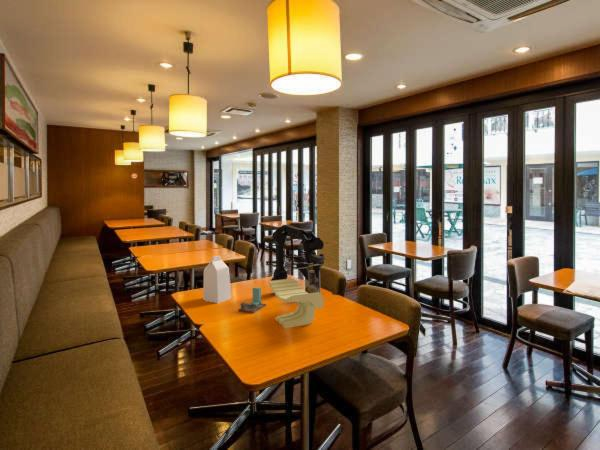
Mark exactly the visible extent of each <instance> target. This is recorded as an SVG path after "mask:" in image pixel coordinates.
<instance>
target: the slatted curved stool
mask: <svg viewBox="0 0 600 450" xmlns="http://www.w3.org/2000/svg"><path fill="white" fill-rule="evenodd" d="M269 287H270V288H271V290H272V291H273V292H272V293H275V295H274V296H275V297H276V298H278V299H279V300H280V301H281V302H282V303H285V304H286V303H296V304H297V308H296V310H295V311H291V312H290V313H286V314H282V315H278V316H275V320H276V321H277V322H278V321H279V322H278V323H279V324H280V325H281V326H282V327H284V328H285V329H289V328H294V327H300V326H306V325H307V326H308V325H310V324H312V323H313V322H314V320H315V310H316V309H320V308H321V309H322V308H324V296H323V293H321V292H320V293H319V292H316V293H307V292H306V291H305V289H303V287H302V286H301V284H300V283H299V281H298V280H297V279H295V278H287V279H283V280H274V281H271V280H269Z"/></svg>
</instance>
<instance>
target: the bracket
mask: <svg viewBox="0 0 600 450" xmlns="http://www.w3.org/2000/svg"><path fill="white" fill-rule="evenodd" d="M249 303H250V302H249ZM249 303H247V302H241V303H240V308H239V309H238V312H242V313H249V314H254V313H256V312H258V311H260V310H261V309H263V308H265V307H266V306H267V303H262V302H261V304H259V305H258V306H254V304H249ZM249 307H251V308H249Z"/></svg>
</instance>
